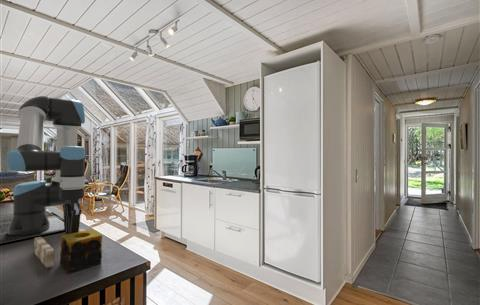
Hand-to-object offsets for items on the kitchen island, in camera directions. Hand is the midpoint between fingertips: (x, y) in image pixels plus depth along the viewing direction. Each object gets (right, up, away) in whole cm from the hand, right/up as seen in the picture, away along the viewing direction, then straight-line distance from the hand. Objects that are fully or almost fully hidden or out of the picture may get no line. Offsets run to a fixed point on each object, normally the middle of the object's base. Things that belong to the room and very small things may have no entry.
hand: (70, 251), depth 88 cm
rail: (-8, -2, -2) cm, 9 cm away
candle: (+7, -2, -5) cm, 9 cm away
